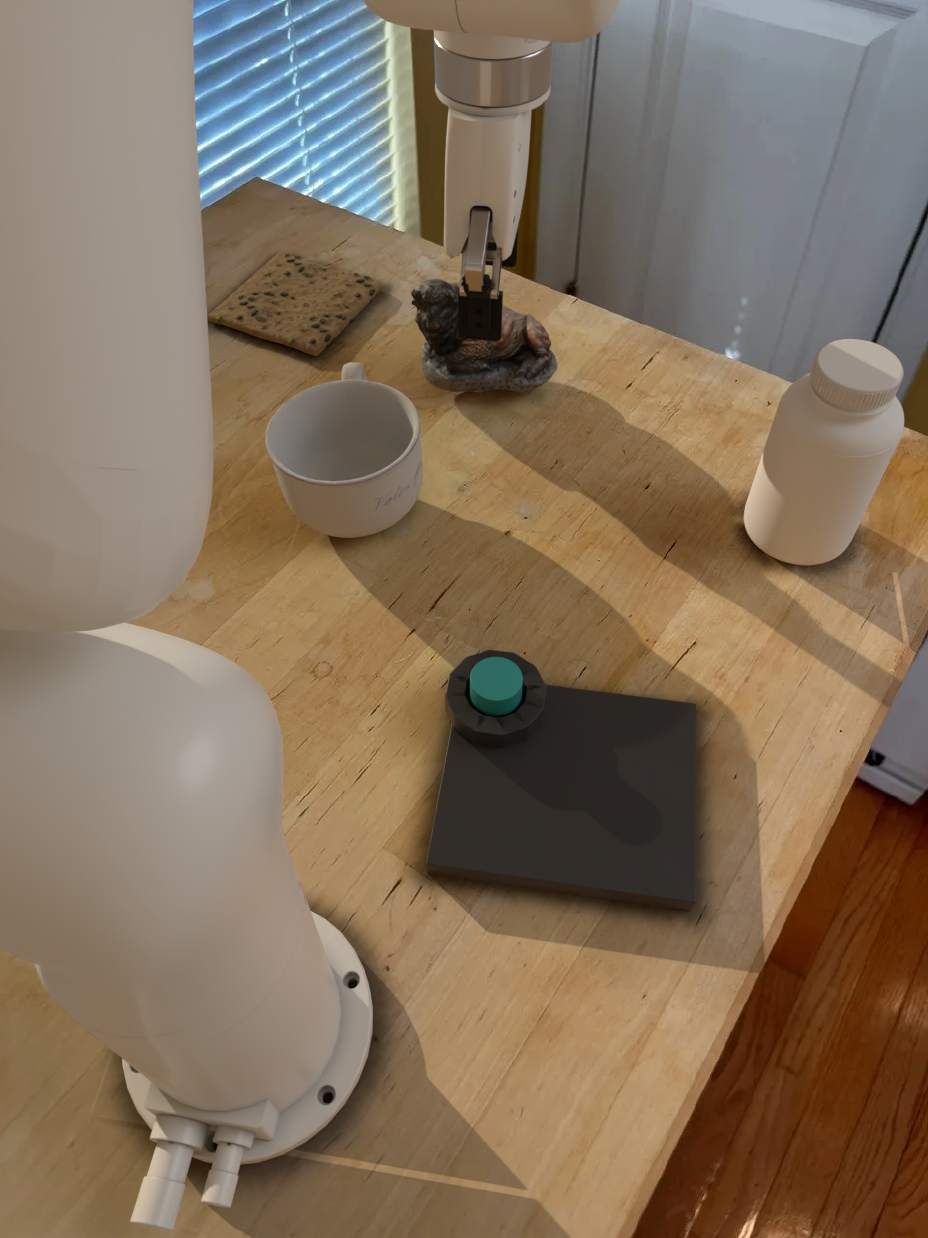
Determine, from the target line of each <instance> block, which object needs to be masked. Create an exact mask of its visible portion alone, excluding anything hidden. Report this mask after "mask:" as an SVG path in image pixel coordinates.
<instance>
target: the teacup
mask: <svg viewBox="0 0 928 1238" xmlns="http://www.w3.org/2000/svg"><path fill="white" fill-rule="evenodd" d="M421 428H422V427H421V419H420V415H419V412H418V410H417V408H416V406H415V404H414V403H413V401H412V400H411V399H409V397H407V395H405V394H404V393H403V392H401V391H399V390H398V389H396V388H394V387H392V386H390V385H387V384H384V383H381V382H377V381H373V380H372V381H371V380H367V374H366V369H365V367H364V364H362V363H361V362H353V361H352V362H347V363H345V364H343V366H342V369H341V379H339V380H332V381H327V382H324V383H320V384H317V385H314V386H311V387H308V388H306V389H304V390H302V391H300V392H298V393H296V394H295V395H293V396H292V397H290V398H289V399H288V400H286V401H285V402H283V404H281V406H280V407H279V408H277V409H276V411H275V412H274V414H273V415H272V417H271V418H270V420H269V422H268V424H267V427H266V429H265V433H264V440H265V441H264V442H265V443H264V444H265V450H266V453H267V455H268V457H269V460H271V462H272V465H273V469H274V472H275V475H276V478H277V481H278V484H279V486H280V489H281V492H282V494H283V497H284V499H285V501H286V503H287V505H288V507H289V508H290V510H291V512H292V513H293V514H294V515H295V516H296V518H297V519H298V520H299V521H301V522H302V523H303V524H304V525H305V526H307V527H308V528H310V529H312V530H313V531H315V532H317V533H321V534H322V535H326V536H329V537H335V538H345V539H347V538H349V539H351V538H352V539H353V538H354V539H355V538H362V537H367V536H372V535H374V534H377V533H380V532H383V531H385V530H387V529H389V528H391V527H392V526H394V525H396V523H398V522H400V521H401V520H402V519H403V518H404V517H405V516H406V515H407V514H408V513H409V512H410V511H411V509H412V508H413V506H414V505H415V504H416V502H417V500H418V497H419V495H420V492H421V489H422V483H423V472H424V471H423V469H424V467H423V453H422V443H421V442H422V441H421Z"/></svg>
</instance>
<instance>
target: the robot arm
mask: <svg viewBox="0 0 928 1238" xmlns="http://www.w3.org/2000/svg"><path fill="white" fill-rule="evenodd" d="M362 2H363V3H364V5H365V6H366V7H367V8H368V9H369V10H370V11H371V13H373V14H374V15H375V16H377V17H378V18H380V19H382V20H384V21H385V22H387V23H390V24H393V25H396V26H400V27H403V28H404V27H405V28H411V29H417V30H418V29H419V30H425V31H433V57H434V92H435V95H436V97H437V99H438V100H439V101H440V102H441V104H443V105H445V106H446V107H448V111H447V112H448V113H447V122H446V135H445V154H444V156H445V157H444V198H443V199H444V202H443V203H444V205H443V207H444V210H443V251H444V253H445V254H446V256H447V257H449V258H452V257H460V255H462V256H461V267H460V276H459V277H460V278H459V283H460V287H459V290H458V332H459V336H460V337H461V338H464V339H475V340H486V341H499V340H500V339H501V334H502V308H503V305H504V303H503V302H504V291H503V290H500V285H501V284H500V283H501V274H502V268H503V267H504V268H514V267H515V266H516V265H517V260H518V240H519V222H520V219H521V214H522V210H523V204H524V198H525V191H526V186H527V178H528V177H527V176H528V168H529V157H530V156H529V155H530V144H531V143H530V142H531V127H532V126H531V125H532V110H535V109H537V108H539V107H540V106H542V105H543V104H544V103H545V102H547V100H548V99H549V97H550V95H551V90H552V89H551V88H552V73H553V60H554V59H553V56H554V46H555V45H554V44H555V43H561V44H562V43H563V44H564V43H565V44H567V43H569V44H570V43H579V42H584V41H586V40H589V39H590V38H594V37H595V36H597V35H598V34H600V32H601V31H603V29H604V28H605V27H607V25H608V24H609V22H610V21H611V19H612V18H613V17H614V15H615V13H616V12H617V10H618V7H619V5H620V3H621V0H362ZM194 4H195V3H194V0H0V952H3V953H6V954H9V955H13V956H15V957H18V958H20V959H23V960H25V961H27V962H30V963H33V964H34V966H35V970H36V973H37V976H38V978H39V981H40V982H41V984H42V987H43V988H44V989H45V991H46V993H47V994H48V995H49V996H50V998H51V999H52V1001H54V1003H55V1004H56V1005H57V1006H58V1007H59V1009H60V1010H61V1011H62V1012H64V1013H65V1014H66V1015H67V1016H68V1017H69V1018H71V1019H72V1020H73V1021H74V1022H75V1023H77V1024H78V1025H79V1026H80V1027H82V1028H83V1029H84V1030H85V1031H86V1032H87V1033H89V1034H90V1035H92V1036H93V1037H95V1038H96V1039H98V1040H99V1041H100V1042H102V1043H103V1044H104V1045H105V1046H106V1047H107V1048H109V1049H110V1050H111V1051H113V1052H114V1053H115V1054H116V1055H117V1056H118V1057H120V1058H121V1064H122V1069H123V1074H124V1079H125V1083H126V1088H127V1092H128V1093H129V1095H130V1098H131V1100H132V1102H133V1105H134V1107H135V1109H136V1111H137V1113H138V1114H139V1116H140V1117H141V1118H142V1119H143V1121H144V1122H145V1124H146V1125H147V1126H148V1127H149V1129H150V1131H151V1132H150V1136H149V1141H151V1142H154V1143H156V1144H155V1149H154V1151H153V1155H152V1157H151V1161H150V1164H149V1167H148V1171H147V1173H146V1175H145V1176H143V1179H142V1182H141V1185H140V1189H139V1192H138V1194H137V1198H136V1202H135V1205H134V1207H133V1212H132V1214H131V1217H130V1221H129V1223H132V1224H135V1225H139V1226H144V1227H149V1228H153V1229H159V1230H165V1231H174V1229H175V1225H176V1222H177V1218H178V1216H179V1215H178V1214H179V1211H180V1208H181V1204H182V1201H183V1198H184V1194H185V1191H186V1187H187V1184H185V1183H186V1179H187V1175H188V1172H189V1170H190V1169H189V1168H190V1165H191V1162H192V1158H193V1159H197V1160H199V1161H201V1162H205V1163H207V1164H212V1165H211V1169H209V1170H208V1174H207V1178H206V1181H205V1185H204V1187H203V1192H202V1196H201V1200H200V1203H203V1204H205V1205H209V1206H214V1207H220V1208H225V1209H231V1207H232V1204H233V1200H234V1197H235V1192H236V1188H237V1184H238V1180H239V1176H240V1175H239V1171H240V1168H241V1166H242V1165H251V1164H258V1163H261V1162H264V1161H268V1160H272V1159H274V1158H277V1157H280V1156H284V1155H285V1154H287V1153H289V1152H290V1151H293V1150H294V1149H296V1148H298V1147H300V1146H301V1145H304V1144H305V1143H306V1142H309V1140H311V1139H312V1138H313V1137H314V1136H315V1135H316V1134H318V1133H319V1132H321V1131H322V1130H323V1129H324V1128H325V1127H327V1126H328V1124H329V1123H330V1122H331V1121H332V1120H333V1119H334V1118H335V1116H336V1115H337V1114H338V1113H339V1112H340V1110H341V1109H343V1107H344V1106H345V1105H346V1103H347V1101H348V1100H349V1098H350V1096H351V1094H352V1093H353V1091H354V1090H355V1088H356V1086H357V1085H358V1083H359V1081H360V1078H361V1075H362V1073H363V1070H364V1068H365V1065H366V1063H367V1060H368V1057H369V1053H370V1048H371V1042H372V1037H373V1033H374V1032H373V1031H374V1030H373V1029H374V1024H373V1023H374V1005H373V1000H372V994H371V993H372V992H371V987H370V984H369V980H368V978H367V977H368V976H367V973H366V970H365V968H364V966H363V964H362V961H361V959H360V958H359V955H358V953H357V952H356V950H355V948H354V947H353V946H352V945H351V943H350V941H348V939H347V938H346V936H345V935H344V934H343V933H342V931H340V930H339V929H338V928H337V927H336V926H335V925H333V924H332V923H331V922H330V921H329V920H328V919H326V918H324V917H323V916H321V915H319V914H317V913H315V912H314V911H311V908H310V906H309V903H308V900H307V896H306V894H305V891H304V888H303V885H302V883H301V881H300V878H299V875H298V872H297V870H296V868H295V864H294V863H293V860H292V857H291V853H290V850H289V847H288V844H287V841H286V836H285V831H284V830H285V829H284V785H285V757H284V754H285V753H284V741H283V735H282V730H281V725H280V721H279V718H278V713H277V710H276V709H275V705H274V703H273V702H272V700H271V698H270V696H269V695H268V693H267V692H266V690H265V689H264V687H263V686H262V684H261V683H260V682H259V681H258V680H257V679H256V678H255V677H254V676H253V675H252V674H251V673H249V672H248V671H247V670H246V669H245V668H243V667H241V666H240V665H239V664H237V663H236V662H234V661H232V660H231V659H229V658H227V657H226V656H224V655H222V654H220V653H218V652H217V651H214V650H212V649H210V648H208V647H205V646H203V645H200V644H197V643H195V642H192V641H189V640H188V639H185V638H183V637H179V636H176V635H172V634H169V633H165V632H162V631H159V630H155V629H151V628H148V627H145V626H140V625H136V624H132V623H129V622H132V621H133V620H135V619H138V618H141V617H142V616H144V615H147V614H148V613H150V612H152V611H153V610H154V609H155V608H157V607H158V606H159V605H160V604H162V603H163V602H164V601H165V600H167V599H168V598H169V597H170V596H172V595H173V594H174V593H175V592H176V591H178V590H179V588H180V587H181V586H182V584H184V582H185V581H186V579H187V578H188V576H189V574H190V572H191V570H192V569H193V567H194V565H195V564H196V562H197V561H198V558H199V556H200V553H201V551H202V547H203V543H204V539H205V535H206V530H207V526H208V523H209V518H210V513H211V506H212V499H213V486H214V485H213V482H214V463H215V462H214V417H213V416H214V413H213V400H212V399H213V398H212V382H211V381H212V380H211V363H210V361H211V360H210V359H211V358H210V344H209V343H210V342H209V326H208V321H207V315H208V306H207V289H206V271H205V270H206V269H205V255H204V237H203V220H202V203H201V202H202V201H201V187H200V186H201V185H200V184H201V183H200V170H199V169H200V167H199V152H198V135H197V115H196V83H195V82H196V81H195V45H194ZM486 266H491V267H492V269H491V276H490V274H486V270H487V269H486ZM353 981H355V982H356V983H357V984H356V986H355V987H354V988H353V987H352V988H351V987H349V985H350V983H351V982H353ZM327 1094H331V1095H332V1100H331V1101H329V1102H324V1098H325V1096H326V1095H327ZM214 1144H217V1147H216V1149H214Z"/></svg>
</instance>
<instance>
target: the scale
mask: <svg viewBox="0 0 928 1238" xmlns="http://www.w3.org/2000/svg"><path fill="white" fill-rule="evenodd" d="M490 657H502V658H506V659H508V660H510V661H512V662H514V663H515V664H516V665H517V666H518V667H519V669H520V670H521V672H522V675H523V687H522V697H521V701H520V703H519V705H518V706H517V707H516V708H515V709H514V710H513V711H512V712H510V713H508V714H505V715H501V716H492V715H488V714H485V713H483V712H481V711H479V710H478V709H477V708H476V707H475V706H474V705H473V703H472V701H471V698H470V675H471V672H472V669H473V668H474V667H475V665H476V664H477V663H479V662H480V661H482V660H484V659H486V658H490ZM444 702H445V703H444V704H445V705H444V707H445V712H446V714H447V716H448V718H449V721H450V723H451V725H450V730H449V737H448V741H447V746H446V752H445V758H444V763H443V768H442V772H441V773H442V774H441V779H440V785H439V789H438V796H437V801H436V807H435V812H434V818H433V822H432V828H431V834H430V840H429V843H428V850H427V855H426V860H425V871H426V874H429V875H436V876H443V877H451V878H456V879H463V880H464V879H465V880H470V881H475V882H476V881H477V882H483V883H492V884H498V885H504V886H511V887H518V888H526V889H532V890H539V891H546V892H553V893H560V894H567V895H574V896H580V897H588V898H595V899H600V900H601V899H602V900H609V901H615V902H621V903H627V904H636V905H643V906H650V907H657V908H662V909H663V908H664V909H670V910H677V911H685V912H692V911H693V909H694V907H695V906H696V904H697V703H695V702H688V701H678V700H671V699H663V698H655V697H647V696H639V695H632V694H631V695H630V694H622V693H615V692H607V691H599V690H592V689H591V690H590V689H582V688H575V687H567V686H561V685H560V686H559V685H551V684H546V683H545V680H544V679H543V677H542V675H541V673H540V671H539V670H538V668H537V666H536V665H535V664H534V663H532V662H530V661H528V660H527V659H525V658H523V657H522V656H520V655H518V653H515V652H513V651H504V650H497V649H496V650H495V649H486V650H483V651H481V652H478V653H475V654H471V655H468V656H465V657H464V659H462V660H461V661H460V663H459V664H458V665H457V666H455V668H454V669H453V670H452V671H450V673H449V675H448V679H447V683H446V689H445V693H444Z"/></svg>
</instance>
